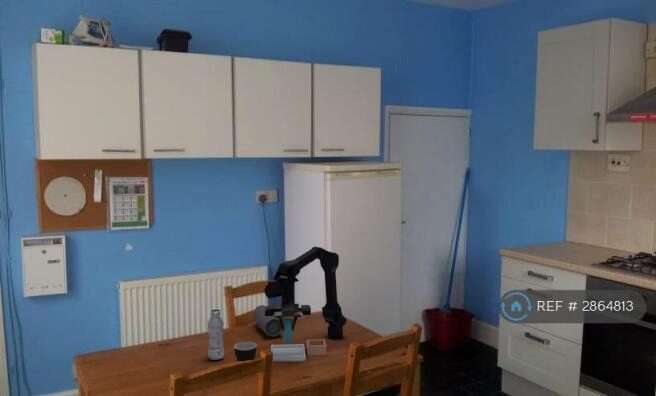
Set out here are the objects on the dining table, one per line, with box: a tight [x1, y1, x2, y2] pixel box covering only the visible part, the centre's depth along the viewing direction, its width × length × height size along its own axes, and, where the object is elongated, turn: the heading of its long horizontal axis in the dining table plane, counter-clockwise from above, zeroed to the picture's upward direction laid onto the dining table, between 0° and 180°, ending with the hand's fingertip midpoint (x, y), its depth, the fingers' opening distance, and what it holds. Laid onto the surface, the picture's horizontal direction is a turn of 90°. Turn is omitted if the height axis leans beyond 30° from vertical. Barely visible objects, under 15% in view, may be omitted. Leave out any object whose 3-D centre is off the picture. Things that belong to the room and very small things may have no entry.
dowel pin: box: [283, 317, 293, 345], centre depth 223 cm, size 3×3×10 cm
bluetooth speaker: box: [252, 304, 283, 338], centre depth 253 cm, size 23×9×10 cm, turn 21°
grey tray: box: [270, 343, 307, 363], centre depth 224 cm, size 14×14×2 cm
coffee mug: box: [233, 341, 258, 363], centre depth 209 cm, size 12×9×10 cm
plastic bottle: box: [207, 308, 225, 361], centre depth 219 cm, size 6×7×20 cm
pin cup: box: [306, 339, 327, 357], centre depth 227 cm, size 8×8×4 cm
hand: (288, 330), depth 224 cm, fingers closed on dowel pin, 3 cm apart
